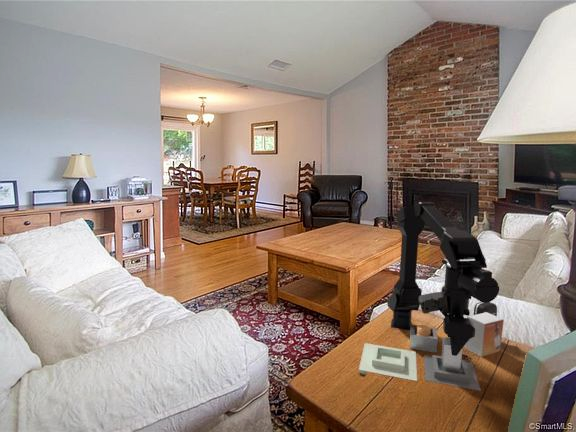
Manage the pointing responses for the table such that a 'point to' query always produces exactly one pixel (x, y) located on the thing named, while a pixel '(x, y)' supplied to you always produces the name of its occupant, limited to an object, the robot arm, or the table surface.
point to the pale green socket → (388, 361)
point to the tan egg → (423, 330)
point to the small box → (485, 334)
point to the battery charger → (485, 308)
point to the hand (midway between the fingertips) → (451, 345)
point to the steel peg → (450, 358)
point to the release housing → (423, 340)
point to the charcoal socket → (450, 373)
